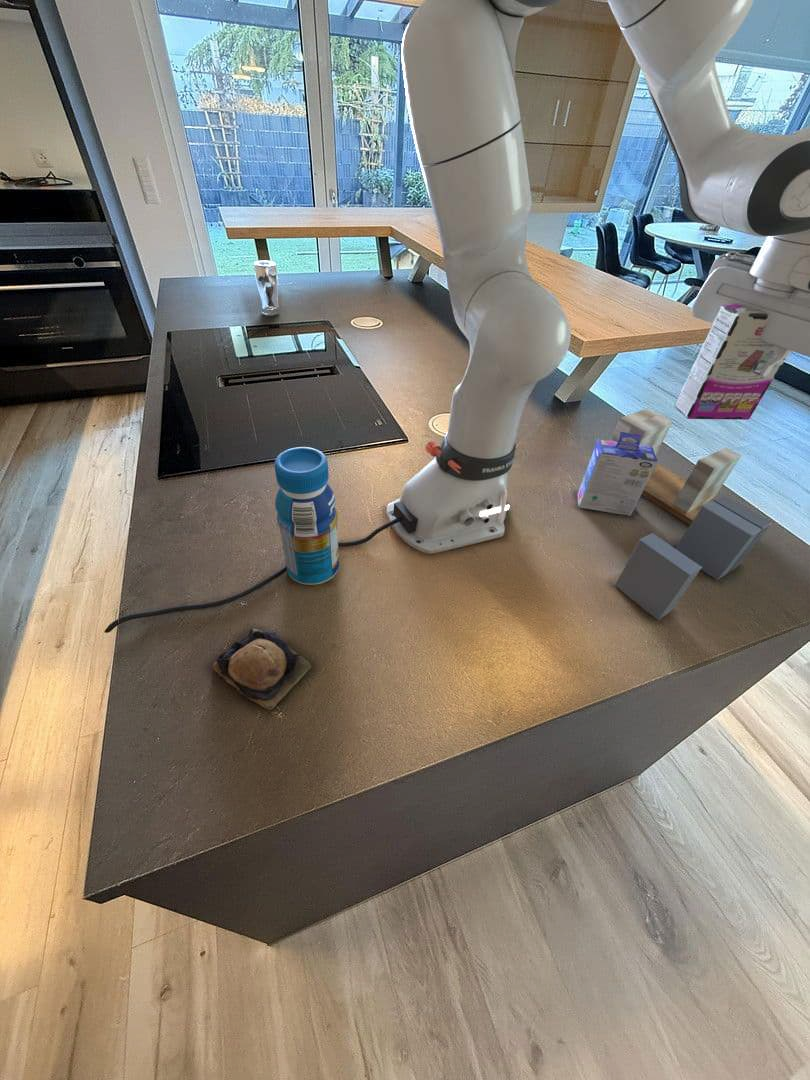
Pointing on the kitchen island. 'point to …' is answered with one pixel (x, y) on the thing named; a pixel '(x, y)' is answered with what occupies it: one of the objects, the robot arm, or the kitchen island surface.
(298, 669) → the potato on dark dish
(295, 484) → the beverage bottle
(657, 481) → the wooden bookend rack
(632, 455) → the ink cartridge box
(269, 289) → the beer glass
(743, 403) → the candy bar box
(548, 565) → the kitchen island surface
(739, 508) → the grey blocks
